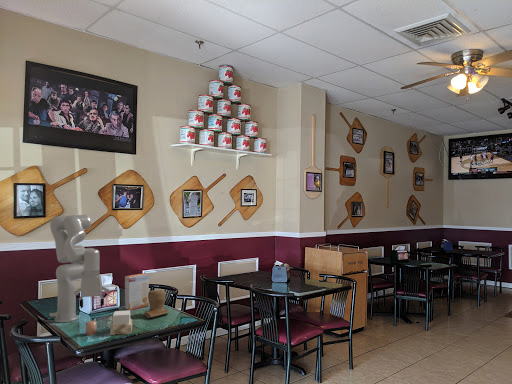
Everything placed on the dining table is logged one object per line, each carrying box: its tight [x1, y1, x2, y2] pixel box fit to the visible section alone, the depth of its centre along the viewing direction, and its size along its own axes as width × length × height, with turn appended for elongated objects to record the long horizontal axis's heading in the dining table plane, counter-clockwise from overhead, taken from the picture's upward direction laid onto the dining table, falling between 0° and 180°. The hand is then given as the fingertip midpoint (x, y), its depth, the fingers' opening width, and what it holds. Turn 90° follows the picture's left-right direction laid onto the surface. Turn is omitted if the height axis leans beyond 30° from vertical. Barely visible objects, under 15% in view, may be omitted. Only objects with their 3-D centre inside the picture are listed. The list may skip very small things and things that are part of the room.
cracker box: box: [124, 273, 150, 311], centre depth 262 cm, size 14×6×21 cm, turn 136°
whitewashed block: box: [112, 310, 131, 325], centre depth 216 cm, size 8×8×5 cm
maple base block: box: [109, 318, 133, 336], centre depth 216 cm, size 10×10×5 cm
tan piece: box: [143, 289, 170, 319], centre depth 245 cm, size 15×12×15 cm
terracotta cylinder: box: [85, 320, 97, 336], centre depth 212 cm, size 5×5×6 cm
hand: (91, 306), depth 211 cm, fingers open, 9 cm apart
